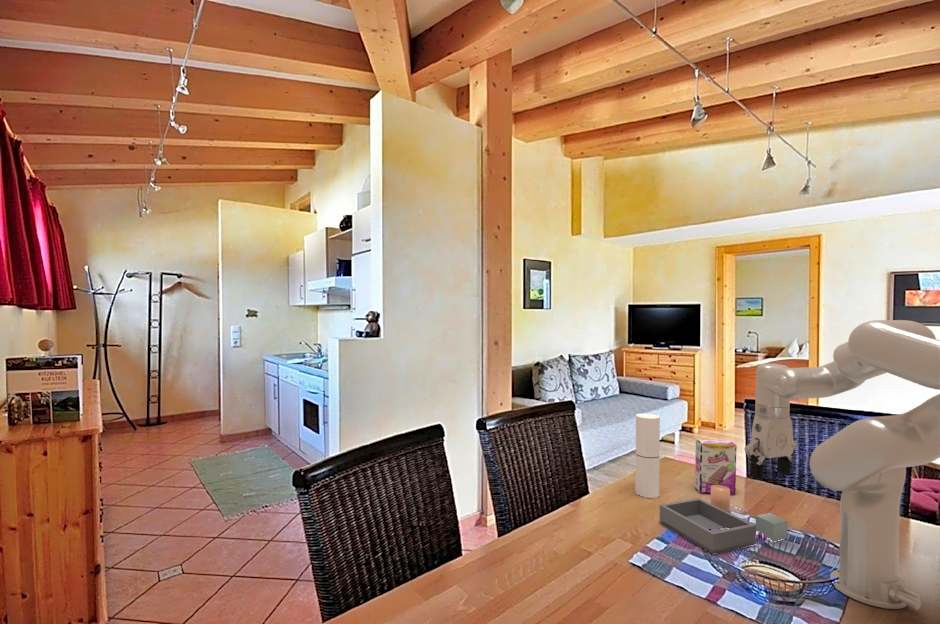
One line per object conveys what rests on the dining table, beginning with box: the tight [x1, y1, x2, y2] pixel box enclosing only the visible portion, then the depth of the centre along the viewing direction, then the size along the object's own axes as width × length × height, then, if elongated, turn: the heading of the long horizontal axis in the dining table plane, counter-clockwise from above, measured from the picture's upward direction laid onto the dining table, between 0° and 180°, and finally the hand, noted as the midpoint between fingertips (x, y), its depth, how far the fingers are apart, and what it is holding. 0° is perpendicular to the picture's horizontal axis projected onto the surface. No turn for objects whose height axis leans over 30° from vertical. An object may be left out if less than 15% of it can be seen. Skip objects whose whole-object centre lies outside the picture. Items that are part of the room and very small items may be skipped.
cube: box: [755, 512, 789, 542], centre depth 123 cm, size 5×5×5 cm
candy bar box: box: [694, 439, 738, 496], centre depth 153 cm, size 11×5×16 cm, turn 84°
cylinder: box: [710, 485, 731, 513], centre depth 138 cm, size 5×5×7 cm
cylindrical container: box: [634, 412, 661, 499], centre depth 151 cm, size 7×7×25 cm
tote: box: [659, 497, 757, 554], centre depth 125 cm, size 18×14×5 cm
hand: (770, 476), depth 123 cm, fingers open, 9 cm apart
